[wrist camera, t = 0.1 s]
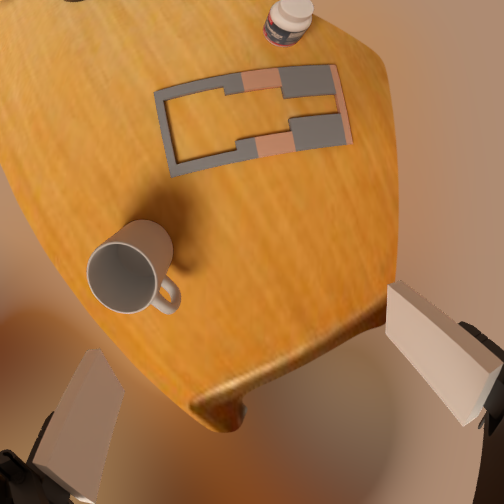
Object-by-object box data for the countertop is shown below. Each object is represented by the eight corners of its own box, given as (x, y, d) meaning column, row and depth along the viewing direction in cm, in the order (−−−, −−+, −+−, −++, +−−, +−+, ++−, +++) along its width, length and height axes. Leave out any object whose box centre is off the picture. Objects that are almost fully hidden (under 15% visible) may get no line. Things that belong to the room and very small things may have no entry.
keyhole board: (154, 93, 31) (153, 92, 31) (333, 66, 33) (335, 64, 32) (172, 177, 35) (171, 177, 35) (350, 144, 36) (352, 143, 36)
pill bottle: (255, 25, 30) (265, -5, 21) (287, 15, 29) (303, -15, 21) (275, 53, 31) (290, 26, 23) (306, 41, 31) (327, 15, 23)
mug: (106, 248, 37) (73, 277, 27) (142, 206, 36) (114, 223, 26) (165, 303, 41) (151, 346, 30) (204, 266, 40) (199, 302, 29)
